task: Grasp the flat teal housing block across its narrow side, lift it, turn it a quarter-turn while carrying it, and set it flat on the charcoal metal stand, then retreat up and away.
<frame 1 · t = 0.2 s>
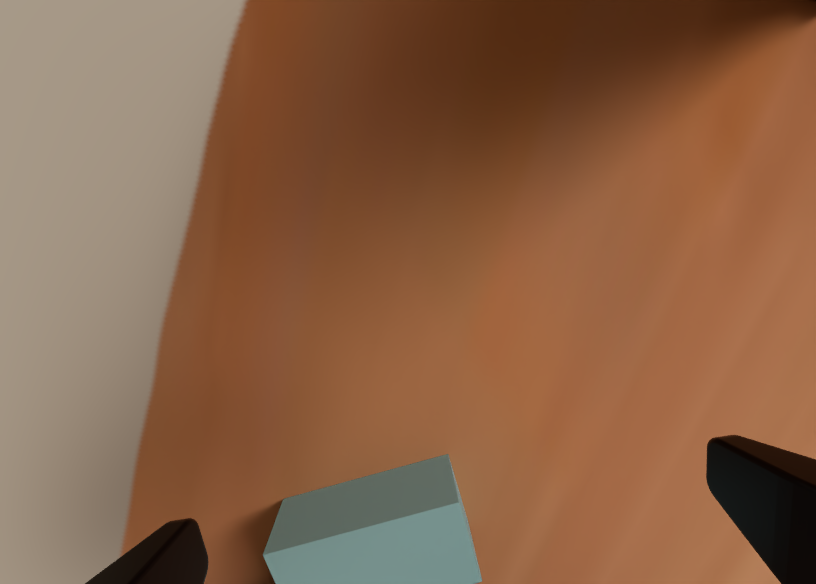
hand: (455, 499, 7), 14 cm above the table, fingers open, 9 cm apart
housing: (377, 508, 24), on the table
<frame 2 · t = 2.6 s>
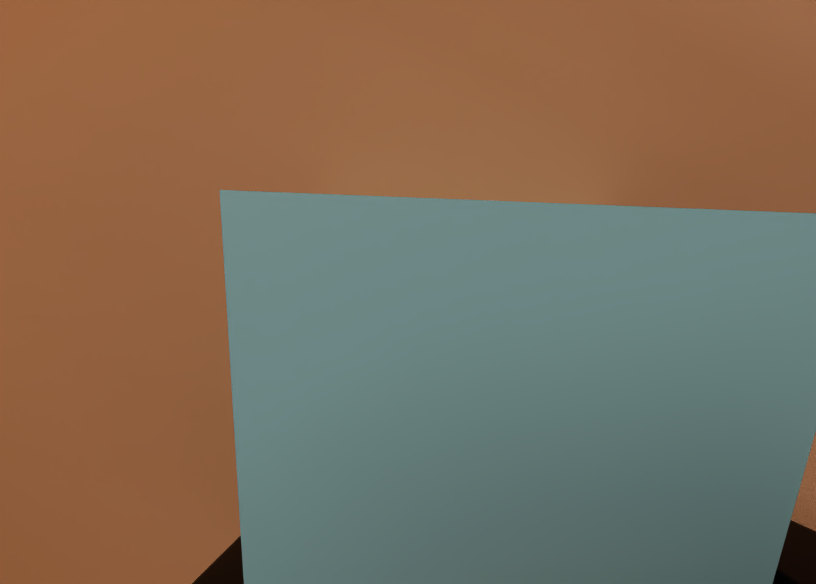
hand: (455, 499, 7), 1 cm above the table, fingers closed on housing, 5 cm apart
housing: (447, 459, 8), on the table, touching gripper
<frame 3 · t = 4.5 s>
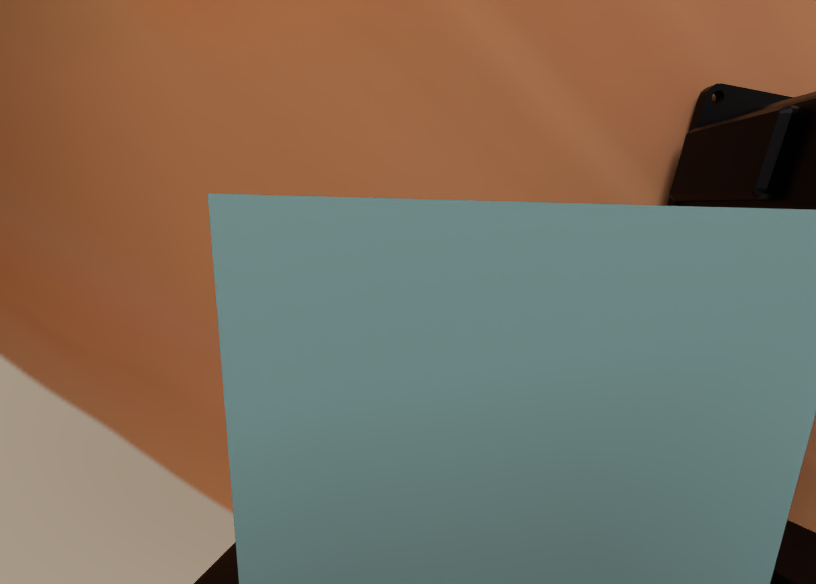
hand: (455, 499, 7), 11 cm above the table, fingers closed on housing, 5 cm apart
housing: (447, 459, 8), point 10 cm above the table, touching gripper
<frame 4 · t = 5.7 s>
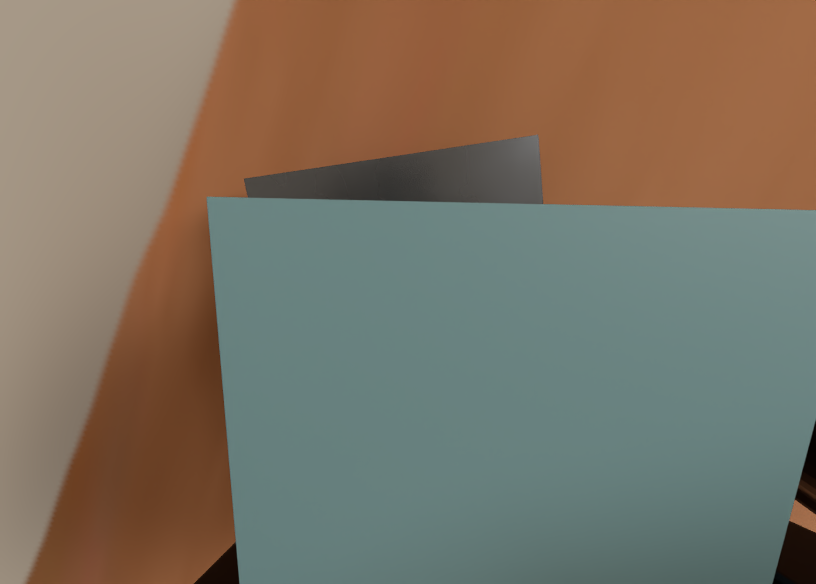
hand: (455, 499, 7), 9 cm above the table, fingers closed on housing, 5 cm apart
stand: (416, 333, 16), on the table
housing: (447, 460, 8), point 8 cm above the table, touching gripper
when the fingers open (5 cm above the table, at t = 6.8 s): housing drops 1 cm, resting on stand.
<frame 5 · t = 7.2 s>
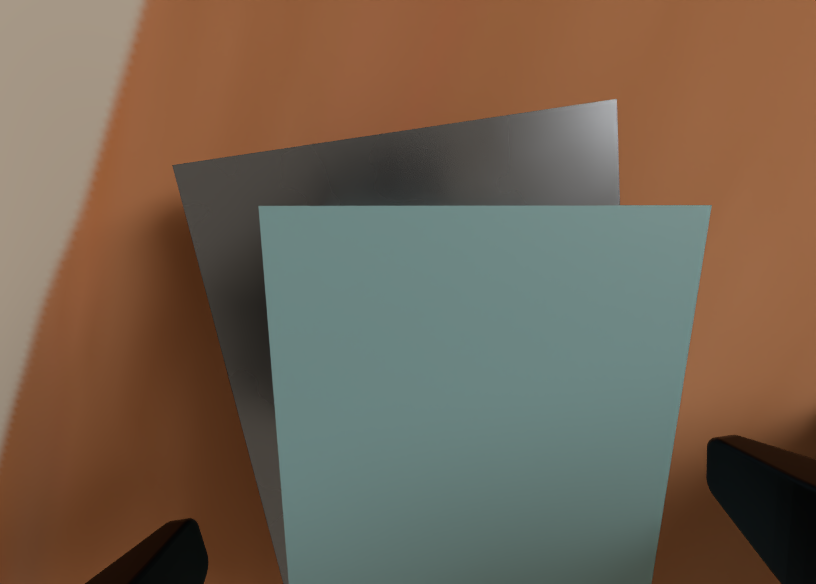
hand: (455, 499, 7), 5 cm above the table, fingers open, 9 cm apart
stand: (427, 377, 12), on the table
housing: (439, 423, 9), point 2 cm above the table, touching stand
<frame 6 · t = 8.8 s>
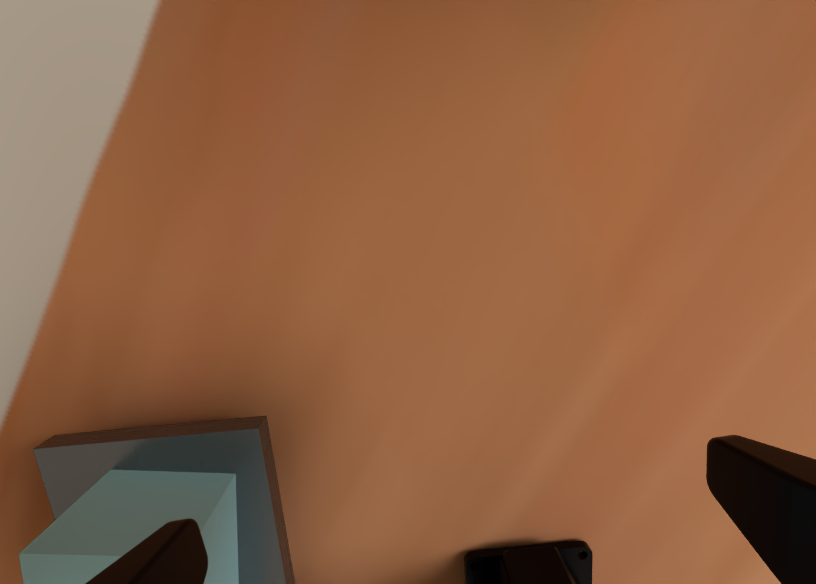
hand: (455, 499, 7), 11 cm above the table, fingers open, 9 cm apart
stand: (205, 527, 20), on the table
housing: (180, 573, 17), point 2 cm above the table, touching stand
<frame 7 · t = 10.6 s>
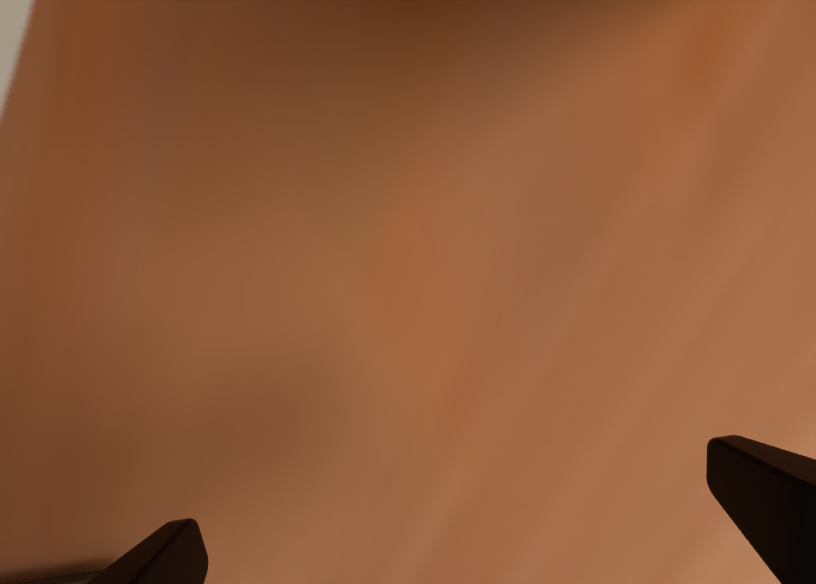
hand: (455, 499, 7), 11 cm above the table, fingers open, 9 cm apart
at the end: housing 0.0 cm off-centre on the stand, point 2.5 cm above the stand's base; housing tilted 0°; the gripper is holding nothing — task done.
